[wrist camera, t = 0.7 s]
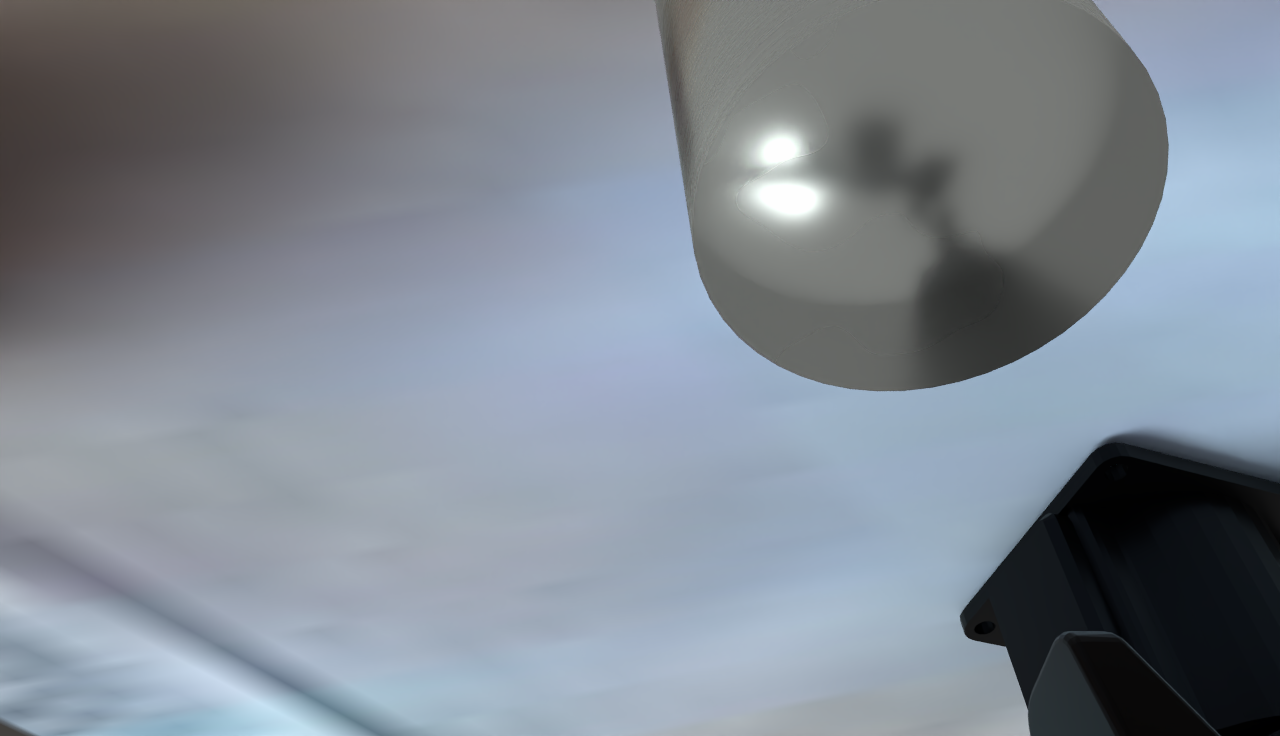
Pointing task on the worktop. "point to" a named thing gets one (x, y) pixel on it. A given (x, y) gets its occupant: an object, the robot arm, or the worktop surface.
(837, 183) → the grey cylinder
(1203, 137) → the worktop surface
